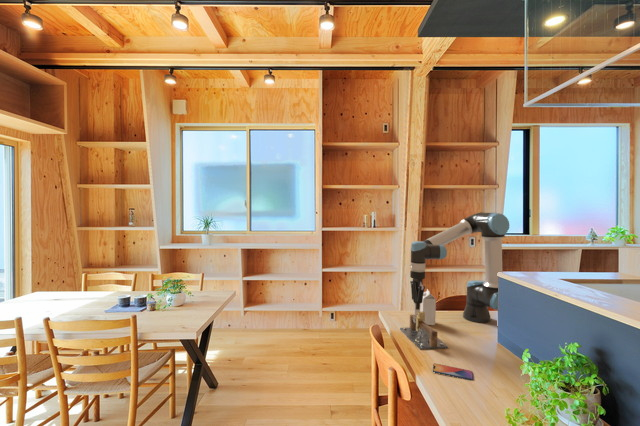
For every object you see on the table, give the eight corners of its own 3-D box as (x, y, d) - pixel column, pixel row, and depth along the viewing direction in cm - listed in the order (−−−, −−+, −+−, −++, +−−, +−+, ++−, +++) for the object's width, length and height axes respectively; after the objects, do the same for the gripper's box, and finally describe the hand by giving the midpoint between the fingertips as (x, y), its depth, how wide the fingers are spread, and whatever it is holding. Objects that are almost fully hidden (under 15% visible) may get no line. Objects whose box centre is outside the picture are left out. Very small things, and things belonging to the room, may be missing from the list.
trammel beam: (414, 327, 181) (415, 314, 181) (437, 346, 156) (437, 331, 156) (409, 327, 181) (409, 314, 181) (431, 346, 156) (431, 331, 156)
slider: (422, 333, 172) (423, 311, 171) (424, 334, 170) (424, 312, 169) (415, 333, 171) (416, 311, 171) (417, 334, 169) (418, 312, 169)
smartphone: (473, 382, 128) (473, 379, 128) (432, 373, 133) (432, 370, 133) (472, 373, 135) (472, 370, 135) (433, 365, 140) (433, 362, 140)
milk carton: (432, 321, 194) (433, 289, 194) (435, 325, 187) (436, 292, 187) (419, 320, 195) (420, 288, 195) (422, 324, 188) (423, 291, 188)
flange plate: (424, 328, 182) (424, 325, 182) (447, 348, 157) (448, 345, 157) (399, 329, 180) (400, 326, 180) (420, 349, 155) (420, 346, 155)
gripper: (406, 268, 181) (405, 311, 182) (416, 273, 168) (415, 319, 169) (419, 268, 182) (417, 310, 183) (430, 273, 169) (428, 318, 170)
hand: (416, 314), depth 176 cm, fingers closed
